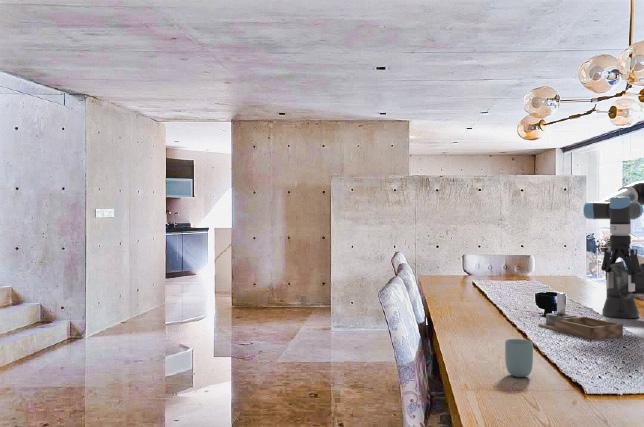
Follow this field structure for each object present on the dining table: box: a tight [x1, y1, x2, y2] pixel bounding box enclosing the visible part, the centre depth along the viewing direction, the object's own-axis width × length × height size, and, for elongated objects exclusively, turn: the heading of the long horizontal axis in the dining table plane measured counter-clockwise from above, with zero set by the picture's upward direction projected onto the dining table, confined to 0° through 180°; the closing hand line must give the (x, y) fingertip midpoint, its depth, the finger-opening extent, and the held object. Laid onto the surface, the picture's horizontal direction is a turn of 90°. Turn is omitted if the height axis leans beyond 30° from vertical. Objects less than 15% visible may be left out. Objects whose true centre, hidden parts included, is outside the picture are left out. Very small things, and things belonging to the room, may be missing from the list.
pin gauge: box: [556, 292, 566, 316], centre depth 249 cm, size 3×3×13 cm
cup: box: [504, 338, 534, 378], centre depth 176 cm, size 8×8×10 cm
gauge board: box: [537, 312, 624, 340], centre depth 240 cm, size 16×28×5 cm, turn 23°
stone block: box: [610, 260, 633, 300], centre depth 241 cm, size 9×14×5 cm
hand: (620, 289), depth 241 cm, fingers closed on stone block, 10 cm apart
